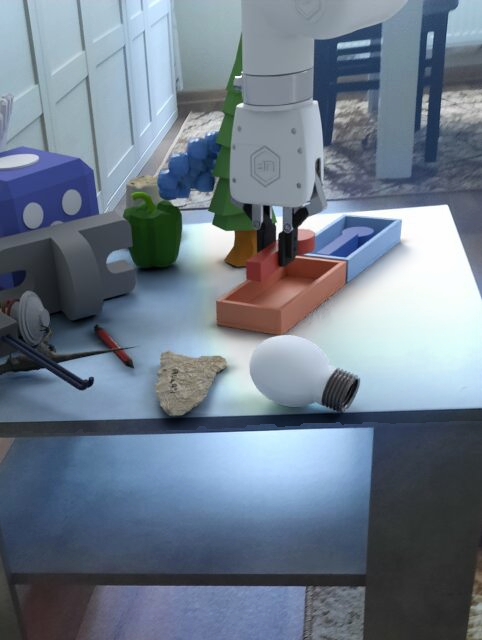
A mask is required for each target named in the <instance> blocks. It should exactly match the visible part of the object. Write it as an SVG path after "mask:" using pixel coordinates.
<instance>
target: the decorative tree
mask: <svg viewBox="0 0 482 640" xmlns="http://www.w3.org/2000/svg"><path fill="white" fill-rule="evenodd" d="M242 72H243V65H242V31H241V32H240V37H239V43H238V47H237V51H236V56H235V60H234V63H233V66H232V69H231V72H230V76H229V78H228V81H227V84H226V88H225V91H227V93H226V95H225V99H224V102H223V105H222V108H221V112H222V113H223V114H224V115H223V118H222V121H221V124H220V126H219V129H218V132H219V133H218V135H217V138H216V141H215V142H216V143H218V144H221V145H222V146H221V149H220V151H219V154H218V157H217V160H216V163H215V166H214V169H213V172H212V175H211V176H214V177H215V178H218V181H217V183H216V185H215V188H214V192H213V195H212V196H211V197H212V198H211V201H210V203H209V207H208V209H207V212H210V213H212V214H213V218H212V222H211V225H212V226H214V227H216V228H219V229H220V230H222V231H225V232H234V241H233V246H232V248H231V249H230V250H229V252H228V253H227V254H226V256H225V257H224V260H223V261H225V262H226V263H228V264H230V265H232V266H233V267H236V268H238V267H246V261H247V260H248V259H250V258H251V257H253V256H254V255H256V254H257V230H256V229H254V228H253V226H252V221H251V220H250V218H249V217H248V216H247V215H246V213H245V212H244V210H241V209H240V208H238V207H236V206H235V205H233V204H232V203H231V202H230V196H231V192H230V153H231V139H232V130H233V123H234V117H235V111H236V106H237V105H239V104H241V103H243V99H242V92H241V91H240V90H235V89H234V86H233V82H234V78H235V77H236V76H241V73H242ZM273 207H274V206H272V223H275V224H276V223H277V224H278V220H277V217H276V214H275V211H274V208H273Z"/></svg>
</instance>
